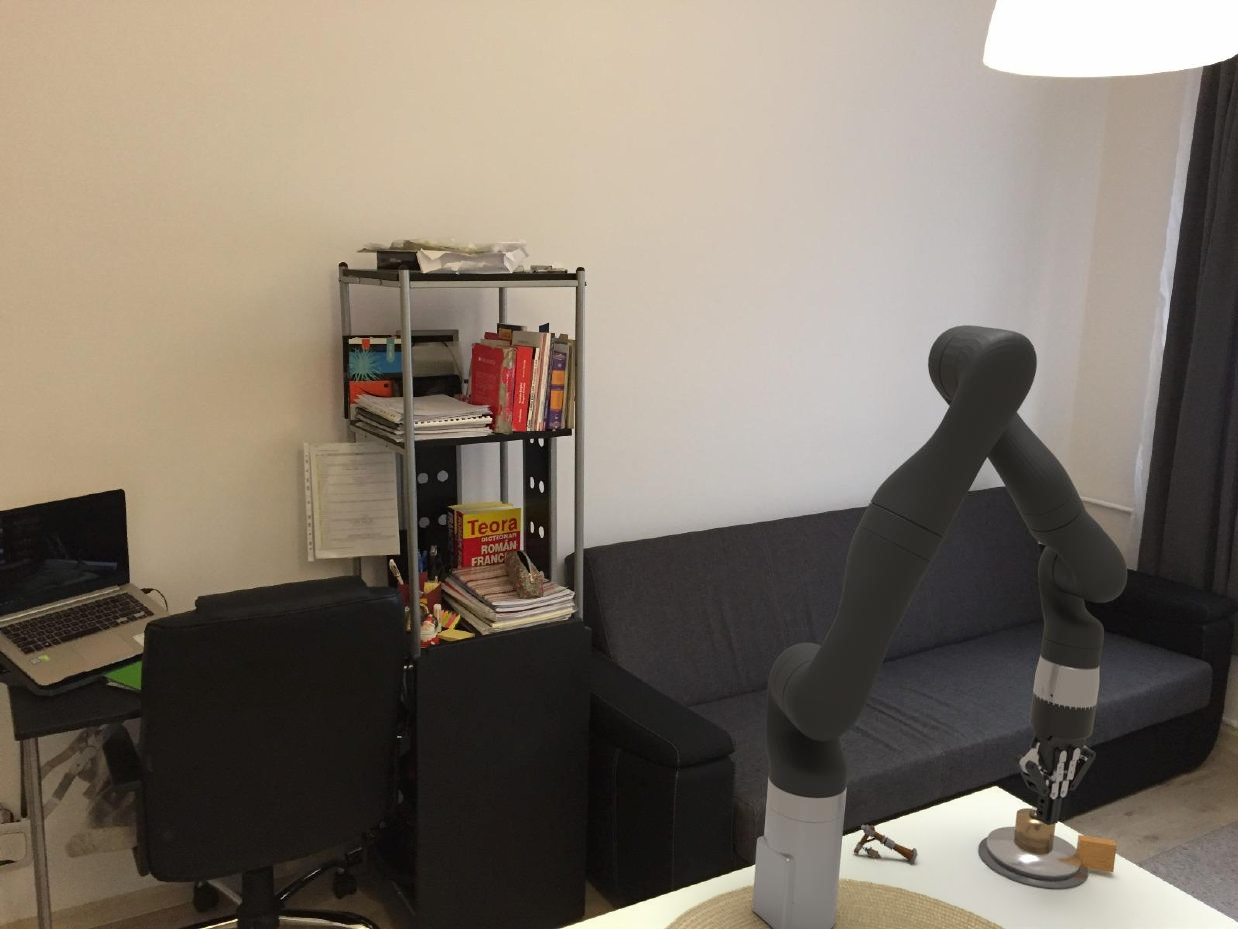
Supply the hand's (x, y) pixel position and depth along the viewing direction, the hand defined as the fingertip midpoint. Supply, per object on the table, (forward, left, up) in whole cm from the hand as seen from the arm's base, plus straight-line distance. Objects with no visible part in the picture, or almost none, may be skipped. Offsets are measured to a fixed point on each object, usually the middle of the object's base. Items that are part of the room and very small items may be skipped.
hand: (1047, 821), depth 135 cm
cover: (+4, +5, -7) cm, 9 cm away
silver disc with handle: (+5, +3, -8) cm, 10 cm away
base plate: (+4, +4, -9) cm, 10 cm away
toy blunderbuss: (-15, +13, -9) cm, 22 cm away
